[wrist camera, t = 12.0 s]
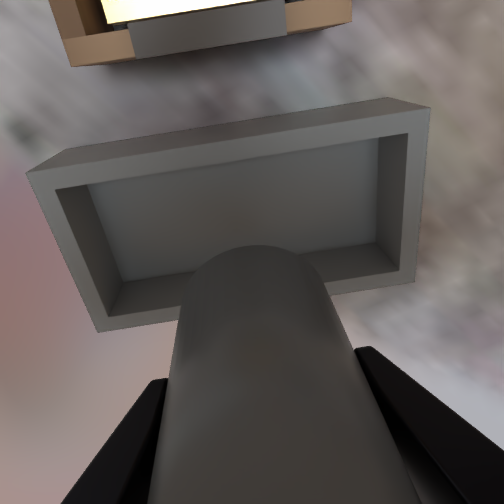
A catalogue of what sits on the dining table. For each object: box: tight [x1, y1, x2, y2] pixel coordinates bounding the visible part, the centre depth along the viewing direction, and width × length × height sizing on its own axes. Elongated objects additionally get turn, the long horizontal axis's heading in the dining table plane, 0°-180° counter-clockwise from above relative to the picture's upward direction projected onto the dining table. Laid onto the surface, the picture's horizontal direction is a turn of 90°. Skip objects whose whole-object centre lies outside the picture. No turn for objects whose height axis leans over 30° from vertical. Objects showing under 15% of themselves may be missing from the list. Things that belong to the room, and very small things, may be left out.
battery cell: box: [147, 245, 422, 504], centre depth 7 cm, size 4×4×9 cm
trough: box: [26, 98, 431, 333], centre depth 17 cm, size 16×8×4 cm, turn 98°
